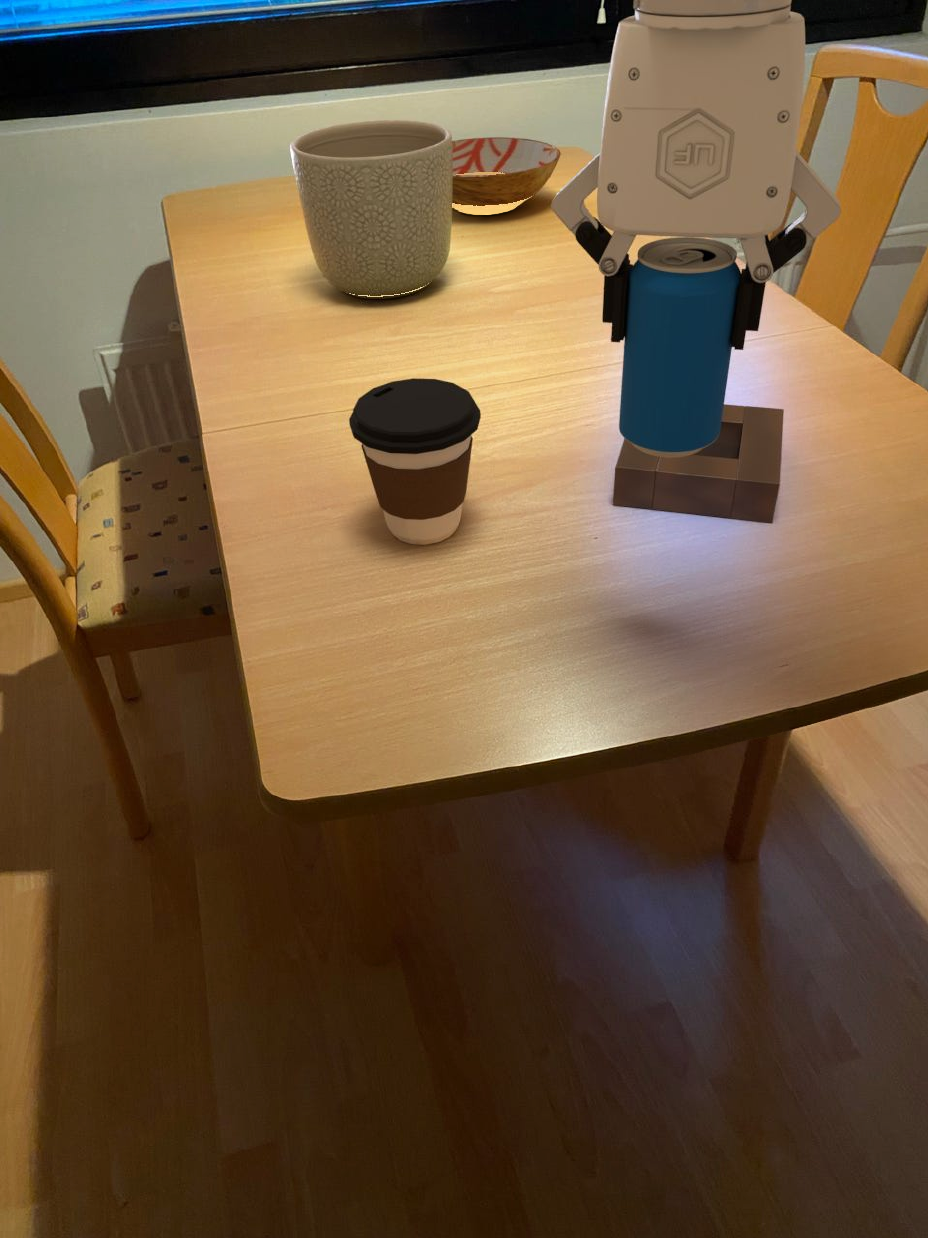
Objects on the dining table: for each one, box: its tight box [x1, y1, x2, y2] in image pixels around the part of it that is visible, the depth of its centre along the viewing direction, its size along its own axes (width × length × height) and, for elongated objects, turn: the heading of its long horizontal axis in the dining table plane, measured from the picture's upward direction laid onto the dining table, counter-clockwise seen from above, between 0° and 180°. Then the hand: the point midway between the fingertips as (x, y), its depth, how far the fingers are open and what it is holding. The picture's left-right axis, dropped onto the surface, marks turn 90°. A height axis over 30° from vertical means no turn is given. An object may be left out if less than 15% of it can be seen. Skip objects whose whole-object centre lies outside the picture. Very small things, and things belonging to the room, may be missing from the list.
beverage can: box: [618, 237, 741, 457], centre depth 57 cm, size 6×6×12 cm
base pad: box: [612, 403, 785, 524], centre depth 87 cm, size 14×14×4 cm
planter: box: [289, 119, 453, 300], centre depth 126 cm, size 21×21×19 cm
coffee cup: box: [348, 377, 482, 546], centre depth 80 cm, size 11×11×12 cm
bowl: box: [452, 136, 562, 206], centre depth 156 cm, size 25×25×8 cm
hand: (678, 334), depth 57 cm, fingers closed on beverage can, 6 cm apart
